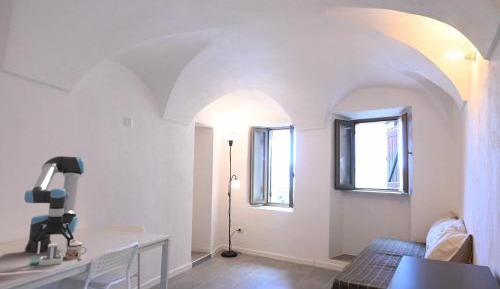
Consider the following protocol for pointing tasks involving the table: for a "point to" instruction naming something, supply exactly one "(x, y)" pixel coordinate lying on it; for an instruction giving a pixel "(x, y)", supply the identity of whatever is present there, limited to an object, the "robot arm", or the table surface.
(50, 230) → the robot arm
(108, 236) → the table surface
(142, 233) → the table surface
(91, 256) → the table surface
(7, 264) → the table surface
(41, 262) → the header
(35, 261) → the board
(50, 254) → the plug
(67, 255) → the teacup with lid
